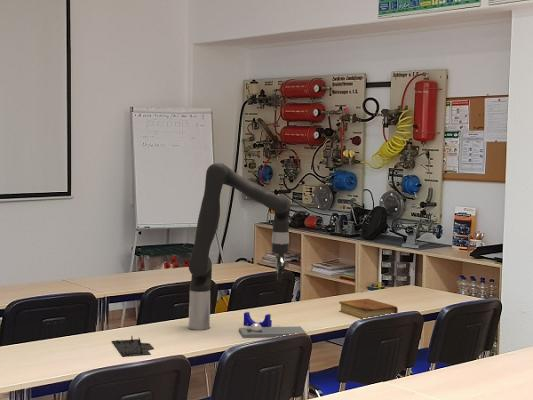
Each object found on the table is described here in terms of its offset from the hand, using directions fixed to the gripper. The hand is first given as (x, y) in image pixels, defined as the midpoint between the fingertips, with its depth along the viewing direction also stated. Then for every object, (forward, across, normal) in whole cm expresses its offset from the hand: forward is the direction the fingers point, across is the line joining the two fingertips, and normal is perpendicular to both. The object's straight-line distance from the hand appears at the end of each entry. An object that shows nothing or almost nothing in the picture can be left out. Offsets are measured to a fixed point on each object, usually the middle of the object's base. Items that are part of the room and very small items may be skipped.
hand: (279, 280), depth 367 cm
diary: (+24, -35, +51) cm, 66 cm away
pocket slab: (+23, +1, -3) cm, 24 cm away
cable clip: (+24, -14, -8) cm, 29 cm away
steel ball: (+21, +2, -10) cm, 23 cm away
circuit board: (+24, +21, -63) cm, 71 cm away
